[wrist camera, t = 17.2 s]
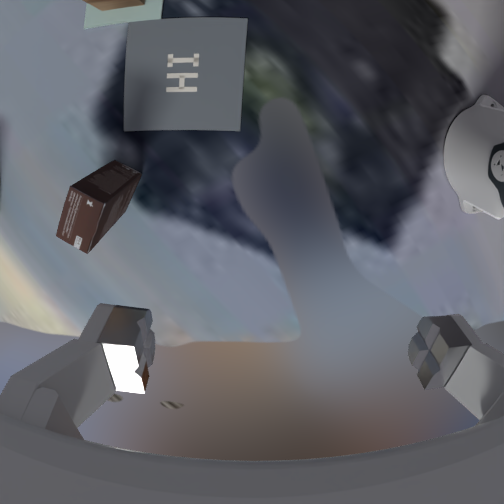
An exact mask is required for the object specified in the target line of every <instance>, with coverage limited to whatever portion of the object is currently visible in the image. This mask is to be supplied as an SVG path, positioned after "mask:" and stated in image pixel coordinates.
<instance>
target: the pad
mask: <svg viewBox="0 0 504 504" xmlns="http://www.w3.org/2000/svg"><path fill="white" fill-rule="evenodd" d="M162 8H163V0H145V5H142V6H133V7H125V8H118V9H112V10H106V11H101V10H99V9H97V8H96V7H94V6H92V5H90V4H88V3H87V6H86V13H85V22H84V29H90V28H95V27H101V26H107V25H113V24H120V23H128V22H135V21H144V20H155V19H161V17H162Z"/></svg>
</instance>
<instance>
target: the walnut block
mask: <svg viewBox="0 0 504 504" xmlns="http://www.w3.org/2000/svg"><path fill="white" fill-rule="evenodd" d="M83 1H85V2H87V3H88V4H90V5H92V6H94V7H96V8H97V9H99V10H101V11H106V10H112V9H118V8H125V7H133V6H142V5H145V0H83Z"/></svg>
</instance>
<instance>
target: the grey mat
mask: <svg viewBox="0 0 504 504" xmlns="http://www.w3.org/2000/svg"><path fill="white" fill-rule="evenodd" d="M247 22H248V19H246V18H220V17H195V18H169V19H155V20H144V21H135V22H129V25H128V36H127V48H126V64H125V85H124V131H145V130H223V131H240V124H241V108H242V92H243V77H244V63H245V49H246V35H247Z"/></svg>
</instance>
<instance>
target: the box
mask: <svg viewBox="0 0 504 504" xmlns="http://www.w3.org/2000/svg"><path fill="white" fill-rule="evenodd" d="M141 175H142V174H141V173H140V172H138V171H136V170H134V169H132V168H130V167H128V166H126V165H124V164H122V163H120V162H118V161H116V160H114V161H112V162H110V163H108V164H106V165H105V166H103V167H101V168H100V169H98V170H96V171H95V172H93V173H91V174H90V175H88V176H86V177H85V178H83V179H81V180H80V181H78V182H77V183H75V184H73V185H72V186H70V188H69V191H68V194H67V197H66V201H65V204H64V207H63V211H62V214H61V218H60V222H59V226H58V229H57V234H56V236H57V237H58V238H60V239H62V240H64V241H65V242H67V243H69V244H71V245H72V246H74V247H76V248H78V249H79V250H81V251H83V252H85V253H86V254H88V253H89V252H90V251H91V250H92V249H93V247H94V246H95V245H96V244H97V243H98V242H99V241H100V239H101V238H102V237H103V236H104V235H105V234H106V233H107V231H108V230H109V229H110V228H111V227H112V226H113V225H114V224H115V223H116V222H117V220H118V219H119V218H120V217H121V216H122V215H123V214H124V213H125V211H126V209H127V207H128V205H129V203H130V200H131V198H132V196H133V193H134V191H135V189H136V187H137V184H138V182H139V180H140V177H141Z"/></svg>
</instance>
